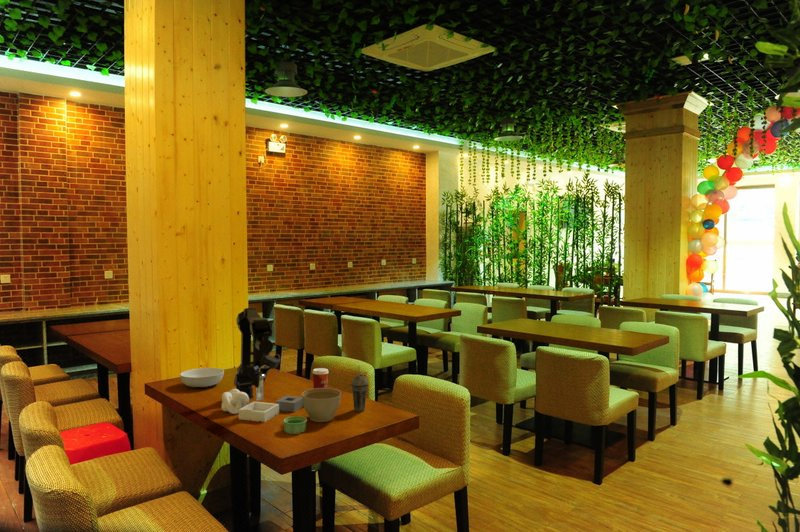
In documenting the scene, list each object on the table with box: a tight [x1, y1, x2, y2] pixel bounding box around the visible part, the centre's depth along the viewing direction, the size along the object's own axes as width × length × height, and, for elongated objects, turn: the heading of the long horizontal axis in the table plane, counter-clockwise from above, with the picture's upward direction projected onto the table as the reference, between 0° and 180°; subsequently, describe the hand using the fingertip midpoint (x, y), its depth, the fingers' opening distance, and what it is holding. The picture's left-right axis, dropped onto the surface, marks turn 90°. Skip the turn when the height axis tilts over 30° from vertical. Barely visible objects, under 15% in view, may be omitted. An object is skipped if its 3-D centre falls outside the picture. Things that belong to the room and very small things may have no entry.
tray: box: [238, 401, 280, 423], centre depth 226 cm, size 12×12×4 cm
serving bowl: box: [179, 367, 225, 388], centre depth 273 cm, size 21×21×7 cm
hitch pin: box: [255, 373, 266, 401], centre depth 226 cm, size 5×5×10 cm
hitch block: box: [275, 395, 304, 413], centre depth 238 cm, size 9×9×4 cm
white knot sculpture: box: [221, 388, 250, 415], centre depth 233 cm, size 11×12×9 cm
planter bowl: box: [301, 387, 342, 423], centre depth 224 cm, size 16×16×11 cm
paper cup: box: [311, 367, 329, 389], centre depth 252 cm, size 8×8×14 cm
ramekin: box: [283, 415, 308, 435], centre depth 210 cm, size 9×9×4 cm
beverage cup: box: [351, 365, 369, 413], centre depth 236 cm, size 7×7×20 cm
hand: (259, 386), depth 226 cm, fingers closed on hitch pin, 4 cm apart
